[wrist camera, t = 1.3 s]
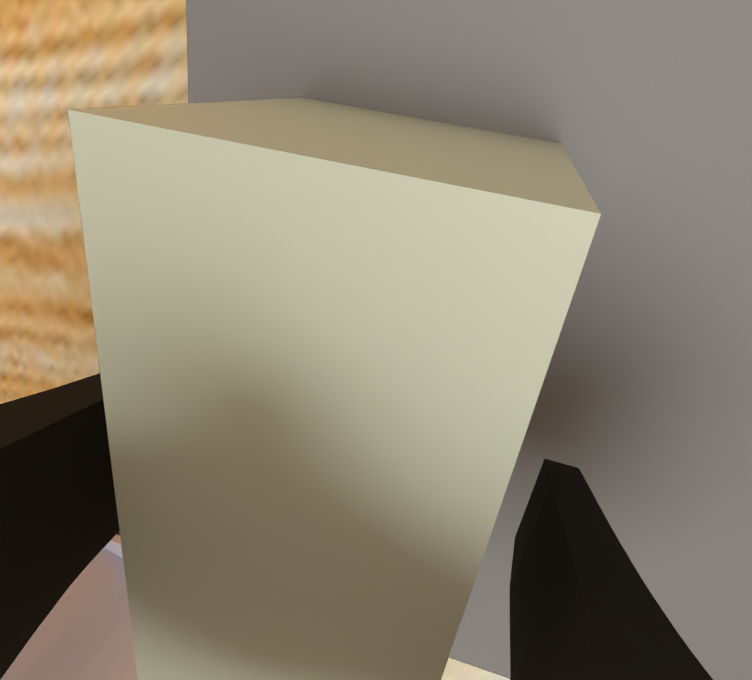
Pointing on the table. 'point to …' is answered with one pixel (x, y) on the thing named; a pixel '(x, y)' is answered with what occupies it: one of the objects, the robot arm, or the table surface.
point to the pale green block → (316, 371)
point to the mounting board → (602, 264)
